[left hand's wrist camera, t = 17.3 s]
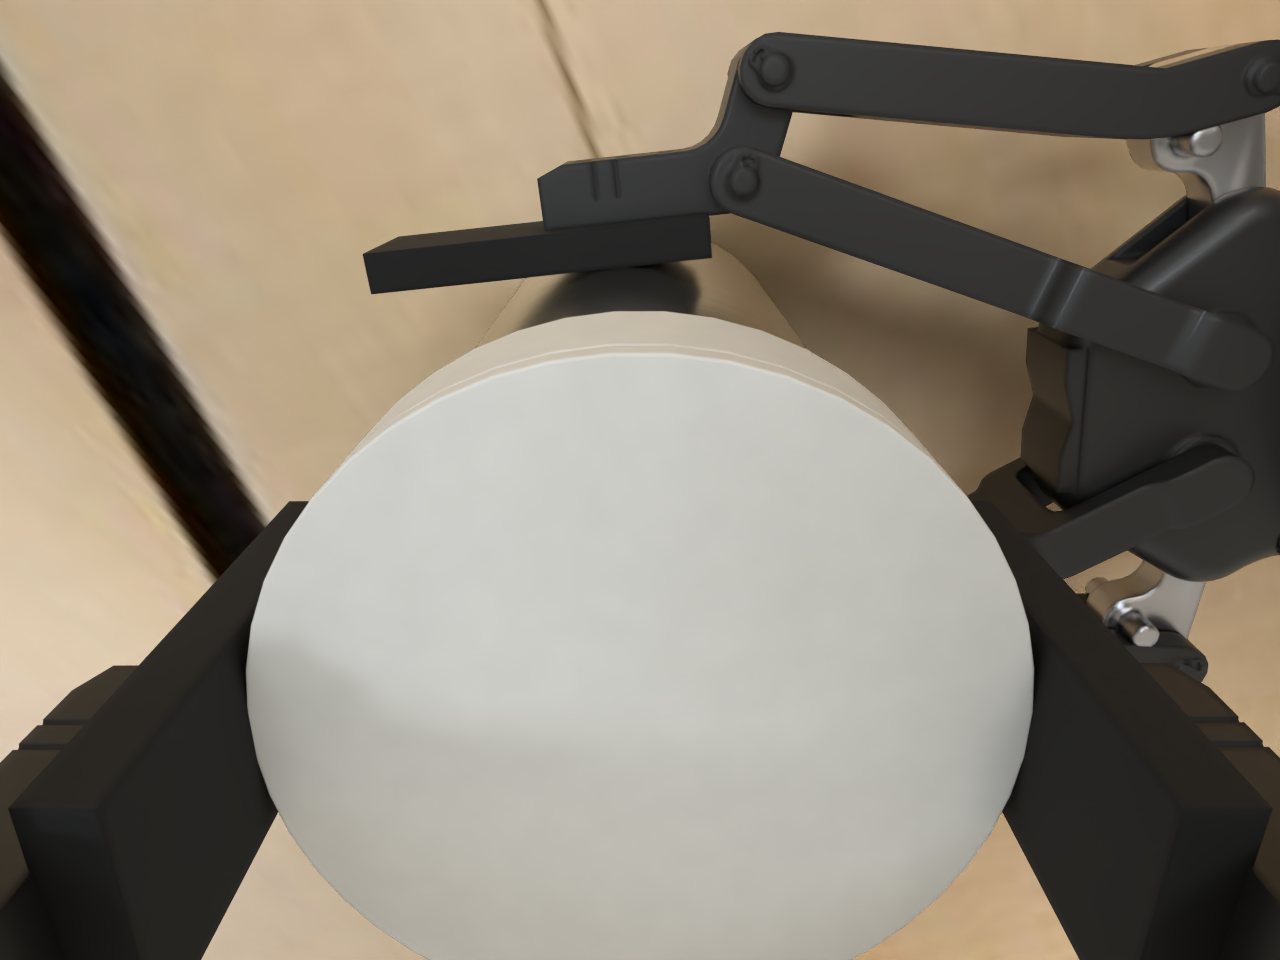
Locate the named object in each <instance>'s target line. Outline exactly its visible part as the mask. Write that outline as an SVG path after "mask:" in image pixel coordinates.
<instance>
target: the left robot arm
mask: <svg viewBox="0 0 1280 960" xmlns="http://www.w3.org/2000/svg"><path fill="white" fill-rule="evenodd" d="M308 502H309V501H289V502H288V503H287V505H286V506H285V507H284V508H283V509H282V510H281V511H280V512H279V513H278V514H277V515H276V517H275V518H274V519H273V520H272V521H271V522H270V523H269V524H268V525H267V526H266V527H265V529H264V530H263V531H262V532H261V533H260V534H259V535H258V536H257V537H256V538H255V539H254V541H253V542H252V543H251V544H250V545H249V546H248V547H247V548H246V549H245V550H244V551H243V552H242V554H241V555H240V556H239V557H238V558H237V559H236V560H235V561H234V562H233V563H232V564H231V566H230V567H229V568H228V569H227V570H226V571H225V572H224V573H223V574H222V575H221V576H220V578H219V579H218V580H217V581H216V582H215V583H214V584H213V585H212V586H211V587H210V588H209V590H208V591H207V592H206V593H205V594H204V595H203V596H202V597H201V598H200V599H199V600H198V602H197V603H196V604H195V605H194V606H193V607H192V608H191V609H190V610H189V611H188V612H187V614H186V615H185V616H184V617H183V618H182V619H181V620H180V621H179V622H178V623H177V624H176V626H175V627H174V628H173V629H172V630H171V631H170V632H169V633H168V634H167V635H166V636H165V638H164V639H163V640H162V641H161V642H160V643H159V644H158V645H157V646H156V647H155V648H154V650H153V651H152V652H151V653H150V654H149V655H148V656H147V657H146V658H145V659H144V660H143V661H142V663H141V664H140V665H139V666H112V667H111V668H109V669H107V670H106V671H104V672H102V673H101V674H99V675H97V676H96V677H94V678H92V679H91V680H89V681H87V682H86V683H84V684H82V685H81V686H79V687H77V688H76V689H74V690H72V691H71V692H70V693H69V694H68V695H67V696H66V697H65V698H64V699H63V700H62V701H61V702H60V703H59V704H58V705H57V706H56V707H55V708H54V709H53V710H52V711H51V712H50V713H49V714H48V715H47V716H46V717H45V718H44V719H43V725H37V726H36V727H35V728H34V729H33V730H32V731H31V732H30V733H29V734H28V735H27V736H26V737H25V738H24V739H23V740H22V741H21V742H20V743H19V749H18V750H13V751H12V752H11V753H10V754H9V755H8V756H7V757H6V758H5V759H4V760H3V761H2V762H1V763H0V960H201V959H202V957H203V955H204V953H205V951H206V949H207V947H208V945H209V943H210V941H211V940H212V938H213V936H214V934H215V932H216V930H217V928H218V926H219V924H220V922H221V920H222V918H223V917H224V915H225V913H226V911H227V909H228V907H229V905H230V903H231V901H232V899H233V897H234V896H235V894H236V892H237V890H238V888H239V886H240V884H241V882H242V880H243V878H244V876H245V874H246V873H247V871H248V869H249V867H250V865H251V863H252V861H253V859H254V857H255V855H256V853H257V851H258V850H259V848H260V846H261V844H262V842H263V840H264V838H265V836H266V834H267V832H268V830H269V828H270V827H271V825H272V823H273V821H274V819H275V817H276V815H277V813H278V810H277V808H276V806H275V804H274V803H273V801H272V799H271V797H270V795H269V792H268V789H267V786H266V783H265V781H264V778H263V775H262V772H261V769H260V767H259V764H258V760H257V756H256V751H255V746H254V741H253V735H252V730H251V725H250V720H249V715H248V709H247V689H246V663H247V655H248V647H249V638H250V630H251V624H252V620H253V617H254V613H255V610H256V606H257V603H258V600H259V596H260V593H261V589H262V586H263V582H264V580H265V578H266V575H267V573H268V571H269V569H270V567H271V565H272V563H273V561H274V559H275V556H276V554H277V552H278V550H279V548H280V546H281V544H282V542H283V540H284V538H285V536H286V535H287V533H288V532H289V530H290V529H291V527H292V526H293V524H294V523H295V521H296V520H297V519H298V517H299V516H300V514H301V513H302V511H303V510H304V508H305V507H306V505H307V504H308ZM971 503H972V504H973V506H974V507H975V509H976V510H977V511H978V513H979V514H980V516H981V517H982V519H983V520H984V522H985V523H986V525H987V526H988V527H989V529H990V530H991V532H992V533H993V535H994V536H995V538H996V540H997V542H998V544H999V546H1000V548H1001V550H1002V552H1003V555H1004V557H1005V559H1006V561H1007V563H1008V565H1009V567H1010V569H1011V571H1012V573H1013V575H1014V578H1015V580H1016V583H1017V586H1018V590H1019V593H1020V596H1021V600H1022V603H1023V607H1024V610H1025V613H1026V617H1027V620H1028V624H1029V631H1030V639H1031V647H1032V655H1033V662H1034V690H1033V713H1032V718H1031V723H1030V729H1029V734H1028V739H1027V744H1026V749H1025V754H1024V758H1023V761H1022V764H1021V767H1020V770H1019V773H1018V775H1017V778H1016V781H1015V784H1014V787H1013V790H1012V792H1011V795H1010V797H1009V799H1008V801H1007V803H1006V805H1005V807H1004V809H1003V810H1002V812H1003V814H1004V816H1005V818H1006V820H1007V822H1008V824H1009V826H1010V827H1011V829H1012V831H1013V833H1014V835H1015V837H1016V839H1017V841H1018V843H1019V845H1020V847H1021V848H1022V850H1023V852H1024V854H1025V856H1026V858H1027V860H1028V862H1029V864H1030V866H1031V868H1032V870H1033V871H1034V873H1035V875H1036V877H1037V879H1038V881H1039V883H1040V885H1041V887H1042V889H1043V891H1044V893H1045V894H1046V896H1047V898H1048V900H1049V902H1050V904H1051V906H1052V908H1053V910H1054V912H1055V914H1056V915H1057V917H1058V919H1059V921H1060V923H1061V925H1062V927H1063V929H1064V931H1065V933H1066V935H1067V937H1068V938H1069V940H1070V942H1071V944H1072V946H1073V948H1074V950H1075V952H1076V954H1077V956H1078V958H1079V960H1280V758H1279V757H1278V756H1277V755H1276V754H1275V753H1274V752H1273V751H1272V750H1271V749H1270V748H1269V747H1264V746H1263V744H1262V742H1263V741H1262V740H1261V739H1260V738H1259V737H1258V736H1257V735H1256V734H1255V733H1254V732H1253V731H1252V730H1251V729H1250V728H1249V727H1248V726H1247V725H1246V724H1245V723H1244V722H1239V720H1238V716H1237V715H1236V714H1235V713H1234V712H1233V711H1232V710H1231V709H1230V708H1229V707H1228V706H1227V705H1226V704H1225V703H1224V702H1223V701H1222V700H1221V699H1220V698H1219V697H1218V696H1217V695H1216V694H1215V693H1214V692H1213V691H1212V690H1211V689H1210V688H1209V687H1207V686H1206V685H1204V684H1202V683H1201V682H1199V681H1197V680H1196V679H1194V678H1192V677H1191V676H1189V675H1187V674H1186V673H1184V672H1182V671H1181V670H1179V669H1177V668H1175V667H1174V666H1172V665H1170V664H1169V663H1139V662H1138V661H1137V660H1136V659H1135V658H1134V656H1133V655H1132V654H1131V653H1130V652H1129V651H1128V650H1127V649H1126V648H1125V647H1124V646H1123V644H1122V643H1121V642H1120V641H1119V640H1118V639H1117V638H1116V637H1115V636H1114V635H1113V634H1112V632H1111V631H1110V630H1109V629H1108V628H1107V627H1106V626H1105V625H1104V624H1103V623H1102V622H1101V620H1100V619H1099V618H1098V617H1097V616H1096V615H1095V614H1094V613H1093V612H1092V611H1091V610H1090V609H1089V607H1088V606H1087V605H1086V604H1085V603H1084V602H1083V601H1082V600H1081V599H1080V598H1079V597H1078V595H1077V594H1076V593H1075V592H1074V591H1073V590H1072V589H1071V588H1070V587H1069V586H1068V585H1067V583H1066V582H1065V581H1064V580H1063V579H1062V578H1061V577H1060V576H1059V575H1058V574H1057V573H1056V571H1055V570H1054V569H1053V568H1052V567H1051V566H1050V565H1049V564H1048V563H1047V562H1046V561H1045V559H1044V558H1043V557H1042V556H1041V555H1040V554H1039V553H1038V552H1037V551H1036V550H1035V549H1034V547H1033V546H1032V545H1031V544H1030V543H1029V542H1028V541H1027V540H1026V539H1025V538H1024V537H1023V535H1022V534H1021V533H1020V532H1019V531H1018V530H1017V529H1016V528H1015V527H1014V526H1013V525H1012V524H1011V522H1010V521H1009V520H1008V519H1007V518H1006V517H1005V516H1004V515H1003V514H1002V513H1001V512H1000V510H999V509H998V508H997V507H996V506H995V505H994V504H993V503H992V502H991V501H971Z"/></svg>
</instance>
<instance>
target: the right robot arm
mask: <svg viewBox="0 0 1280 960" xmlns="http://www.w3.org/2000/svg"><path fill="white" fill-rule="evenodd" d="M1279 106H1280V40H1268V41H1259V42H1251V43H1243V44H1235V45H1227V46H1219V47H1211V48H1204V49H1196V50H1188V51H1184V52H1180V53H1177V54H1173V55H1170V56H1166V57H1162V58H1159V59H1155V60H1152V61H1148V62H1145V63H1141V64H1138V65H1124V64H1114V63H1103V62H1092V61H1082V60H1071V59H1060V58H1050V57H1039V56H1028V55H1018V54H1007V53H996V52H986V51H975V50H964V49H953V48H943V47H932V46H921V45H911V44H900V43H889V42H879V41H868V40H857V39H847V38H836V37H825V36H815V35H804V34H793V33H783V32H776V33H768V34H764V35H762V36H761V37H759V38H757V39H755V40H754V41H752V42H751V43H749V44H748V45H747V46H745V47H744V48H742V49H741V50H740V51H739V52H738V53H737V54H736V56H735V57H734V58H733V59H732V61H731V64H730V67H729V71H728V80H727V84H726V88H725V92H724V95H723V99H722V103H721V107H720V111H719V114H718V118H717V120H716V123H715V125H714V127H713V129H712V130H711V132H710V133H709V135H708V136H707V137H706V138H704V139H703V140H702V141H701V142H700V143H698V144H696V145H694V146H692V147H688V148H684V149H677V150H668V151H659V152H650V153H641V154H632V155H623V156H614V157H605V158H596V159H587V160H578V161H569V162H566V163H564V164H563V165H561V166H559V167H557V168H556V169H554V170H552V171H550V172H549V173H547V174H545V175H543V176H542V177H540V178H538V179H537V180H538V187H539V194H540V202H541V209H542V216H543V221H539V222H530V223H521V224H512V225H503V226H493V227H484V228H475V229H466V230H456V231H447V232H438V233H429V234H419V235H410V236H401V237H397V238H395V239H393V240H391V241H389V242H387V243H385V244H383V245H381V246H378V247H376V248H374V249H372V250H370V251H368V252H366V253H364V254H363V258H364V263H365V267H366V272H367V277H368V281H369V286H370V291H371V294H378V293H387V292H397V291H406V290H416V289H425V288H434V287H444V286H453V285H463V284H472V283H482V282H491V281H501V280H510V279H519V278H529V277H538V276H548V275H557V274H567V273H576V272H586V271H595V270H604V269H614V268H622V267H633V266H642V265H652V264H661V263H670V262H680V261H689V260H699V259H708V258H712V249H711V235H710V221H709V216H710V215H719V214H729V213H732V214H735V215H738V216H741V217H743V218H746V219H749V220H752V221H755V222H758V223H760V224H763V225H766V226H769V227H772V228H775V229H778V230H780V231H783V232H786V233H789V234H792V235H795V236H797V237H800V238H803V239H806V240H809V241H812V242H814V243H817V244H820V245H823V246H826V247H829V248H831V249H834V250H837V251H840V252H843V253H846V254H849V255H851V256H854V257H857V258H860V259H863V260H866V261H868V262H871V263H874V264H877V265H880V266H883V267H885V268H888V269H891V270H894V271H897V272H900V273H902V274H905V275H908V276H911V277H914V278H917V279H920V280H922V281H925V282H928V283H931V284H934V285H937V286H939V287H942V288H945V289H948V290H951V291H954V292H956V293H959V294H962V295H965V296H968V297H971V298H973V299H976V300H979V301H982V302H985V303H988V304H990V305H993V306H996V307H999V308H1002V309H1005V310H1008V311H1010V312H1013V313H1016V314H1019V315H1022V316H1024V317H1027V318H1030V319H1032V320H1035V321H1037V322H1040V324H1039V326H1038V327H1035V328H1028V334H1027V353H1026V364H1027V368H1028V373H1029V377H1030V381H1031V386H1032V390H1033V398H1032V401H1031V404H1030V407H1029V410H1028V413H1027V416H1026V419H1025V422H1024V425H1023V428H1022V443H1021V457H1020V458H1018V459H1017V460H1015V461H1013V462H1011V463H1009V464H1007V465H1005V466H1003V467H1001V468H999V469H997V470H995V471H993V472H991V473H990V474H988V475H986V476H985V477H984V478H983V479H982V480H981V483H980V485H979V488H978V489H977V490H976V491H975V492H973V493H972V494H970V495H968V496H967V497H968V498H969V500H970V501H991V502H992V503H993V504H994V505H995V506H996V507H997V508H998V509H999V510H1000V512H1001V513H1002V514H1003V515H1004V516H1005V517H1006V518H1007V519H1008V520H1009V521H1010V522H1011V524H1012V525H1013V526H1014V527H1015V528H1016V529H1017V530H1018V531H1019V532H1020V533H1021V534H1022V535H1023V537H1024V538H1025V539H1026V540H1027V541H1028V542H1029V543H1030V544H1031V545H1032V546H1033V547H1034V549H1035V550H1036V551H1037V552H1038V553H1039V554H1040V555H1041V556H1042V557H1043V558H1044V559H1045V561H1046V562H1047V563H1048V564H1049V565H1050V566H1051V567H1052V568H1053V569H1054V570H1055V571H1056V573H1057V574H1058V575H1059V576H1060V577H1061V578H1062V579H1065V578H1068V577H1071V576H1074V575H1076V574H1078V573H1080V572H1082V571H1084V570H1086V569H1088V568H1091V567H1093V566H1095V565H1097V564H1099V563H1101V562H1103V561H1105V560H1107V559H1110V558H1112V557H1114V556H1116V555H1118V554H1120V553H1122V552H1124V551H1126V550H1127V551H1129V552H1131V553H1133V554H1134V555H1136V556H1138V557H1139V558H1141V559H1143V561H1142V563H1141V565H1140V566H1139V567H1138V569H1137V570H1136V571H1134V572H1133V573H1132V574H1130V575H1129V576H1126V577H1124V578H1122V579H1116V580H1111V581H1108V580H1107V579H1105V578H1102V577H1097V578H1094V579H1092V580H1091V581H1090V582H1088V584H1087V586H1086V594H1077V595H1078V597H1079V598H1080V599H1081V600H1082V601H1083V602H1084V603H1085V604H1086V605H1087V606H1088V607H1089V609H1090V610H1091V611H1092V612H1093V613H1094V614H1095V615H1096V616H1097V617H1098V618H1099V619H1100V620H1101V622H1102V623H1103V624H1104V625H1105V626H1106V627H1107V628H1108V629H1109V630H1110V631H1111V632H1112V634H1113V635H1114V636H1115V637H1116V638H1117V639H1118V640H1119V641H1120V642H1121V643H1122V644H1123V646H1124V647H1125V648H1126V649H1127V650H1128V651H1129V652H1130V653H1131V654H1132V655H1133V656H1134V658H1135V659H1136V660H1137V661H1138V662H1139V663H1169V664H1170V665H1172V666H1174V667H1175V668H1177V669H1179V670H1181V671H1182V672H1184V673H1186V674H1187V675H1189V676H1191V677H1192V678H1194V679H1196V680H1197V681H1199V682H1202V681H1203V679H1204V677H1205V675H1206V674H1207V670H1208V662H1207V660H1206V657H1205V656H1204V655H1203V654H1202V653H1201V652H1200V651H1199V650H1198V649H1197V648H1196V647H1195V646H1194V645H1193V644H1192V643H1191V642H1190V641H1189V640H1188V635H1189V632H1190V629H1191V626H1192V623H1193V620H1194V617H1195V614H1196V610H1197V607H1198V604H1199V601H1200V598H1201V595H1202V592H1203V589H1204V586H1205V583H1206V581H1213V580H1216V579H1220V578H1223V577H1225V576H1228V575H1230V574H1232V573H1233V572H1235V571H1237V570H1239V569H1241V568H1242V567H1244V566H1246V565H1249V564H1251V563H1253V562H1256V561H1258V560H1261V559H1264V558H1267V557H1270V556H1275V555H1280V191H1278V190H1275V189H1272V188H1267V187H1266V174H1265V113H1266V112H1268V111H1270V110H1272V109H1275V108H1277V107H1279ZM792 112H798V113H809V114H820V115H831V116H842V117H853V118H864V119H875V120H886V121H897V122H907V123H918V124H929V125H940V126H951V127H962V128H973V129H984V130H995V131H1006V132H1017V133H1028V134H1039V135H1050V136H1061V137H1086V138H1111V139H1126V142H1127V146H1128V148H1129V152H1130V156H1131V157H1132V159H1133V161H1134V162H1135V163H1136V164H1137V165H1138V166H1140V167H1141V168H1144V169H1147V170H1153V171H1163V172H1173V173H1175V174H1176V175H1177V176H1179V177H1180V178H1181V179H1182V181H1183V183H1184V185H1185V187H1186V192H1187V195H1186V196H1184V197H1182V198H1181V199H1180V200H1178V201H1177V202H1176V203H1175V204H1173V205H1172V206H1171V207H1169V208H1168V209H1167V210H1166V211H1164V212H1163V213H1162V214H1160V215H1159V216H1158V217H1157V218H1155V219H1154V220H1153V221H1152V222H1150V223H1149V224H1148V225H1146V226H1145V227H1144V228H1143V229H1141V230H1140V231H1139V232H1137V233H1136V234H1135V235H1134V236H1132V237H1131V238H1130V239H1128V240H1127V241H1126V242H1125V243H1123V244H1122V245H1121V246H1119V247H1118V248H1117V249H1116V250H1114V251H1113V252H1112V253H1111V254H1109V255H1108V256H1107V257H1105V258H1104V259H1103V260H1102V261H1100V262H1099V263H1098V264H1096V265H1095V266H1094V267H1093V268H1091V269H1088V268H1086V267H1083V266H1080V265H1077V264H1074V263H1071V262H1068V261H1066V260H1063V259H1060V258H1057V257H1054V256H1052V255H1049V254H1046V253H1043V252H1041V251H1038V250H1035V249H1032V248H1029V247H1027V246H1024V245H1021V244H1018V243H1016V242H1013V241H1010V240H1007V239H1005V238H1002V237H999V236H996V235H994V234H991V233H988V232H985V231H983V230H980V229H977V228H974V227H972V226H969V225H966V224H963V223H960V222H958V221H955V220H952V219H949V218H947V217H944V216H941V215H938V214H936V213H933V212H930V211H927V210H925V209H922V208H919V207H916V206H914V205H911V204H908V203H905V202H903V201H900V200H897V199H894V198H892V197H889V196H886V195H883V194H880V193H878V192H875V191H872V190H869V189H867V188H864V187H861V186H858V185H856V184H853V183H850V182H847V181H845V180H842V179H839V178H836V177H834V176H831V175H828V174H825V173H823V172H820V171H817V170H814V169H811V168H809V167H806V166H803V165H800V164H798V163H795V162H792V161H789V160H787V159H784V158H781V157H780V154H781V150H782V147H783V143H784V140H785V136H786V133H787V130H788V126H789V123H790V119H791V116H792ZM1053 502H1054V503H1055V504H1056V505H1057V506H1058V507H1059V508H1060V509H1062V510H1063V511H1051V510H1049V509H1047V508H1046V507H1045V506H1047V505H1049V504H1051V503H1053Z"/></svg>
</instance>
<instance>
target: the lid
mask: <svg viewBox="0 0 1280 960" xmlns="http://www.w3.org/2000/svg"><path fill="white" fill-rule="evenodd" d="M246 689H247V709H248V715H249V720H250V725H251V730H252V735H253V741H254V746H255V751H256V756H257V760H258V764H259V767H260V769H261V772H262V775H263V778H264V781H265V783H266V786H267V789H268V792H269V795H270V797H271V799H272V801H273V803H274V804H275V806H276V808H277V810H278V812H279V814H280V816H281V818H282V820H283V822H284V823H285V825H286V827H287V829H288V831H289V833H290V834H291V836H292V837H293V839H294V840H295V841H296V843H297V844H298V846H299V847H300V848H301V850H302V851H303V853H304V854H305V855H306V857H307V858H308V860H309V861H310V862H311V864H312V865H313V867H314V868H315V869H316V870H317V871H318V872H319V873H320V874H321V875H322V876H323V878H324V879H325V880H326V881H327V882H328V883H329V884H330V885H331V886H332V887H333V888H334V889H335V890H336V892H337V893H338V894H339V895H340V896H341V897H342V898H343V899H344V900H345V901H346V902H348V903H349V904H350V905H351V906H352V907H354V908H355V909H356V910H357V911H358V912H359V913H361V914H362V915H363V916H364V917H365V918H367V919H368V920H369V921H370V922H371V923H372V924H374V925H375V926H376V927H378V928H379V929H381V930H382V931H383V932H385V933H386V934H388V935H389V936H391V937H392V938H394V939H395V940H397V941H398V942H400V943H401V944H403V945H404V946H406V947H407V948H409V949H410V950H412V951H414V952H416V953H418V954H420V955H422V956H423V957H425V958H427V959H429V960H851V959H853V958H855V957H857V956H859V955H861V954H863V953H864V952H866V951H868V950H870V949H871V948H873V947H874V946H876V945H877V944H879V943H880V942H882V941H883V940H885V939H886V938H888V937H889V936H891V935H892V934H894V933H895V932H897V931H898V930H900V929H901V928H903V927H904V926H906V925H907V924H908V923H909V922H910V921H911V920H913V919H914V918H915V917H916V916H917V915H918V914H920V913H921V912H922V911H923V910H924V909H926V908H927V907H928V906H929V905H930V904H931V903H933V902H934V901H935V900H936V899H937V898H938V897H939V896H940V895H941V894H942V893H943V892H944V891H945V890H946V889H947V887H948V886H949V885H950V884H951V883H952V882H953V881H954V880H955V879H956V878H957V877H958V876H959V874H960V873H961V872H962V871H963V870H964V869H965V868H966V867H967V865H968V864H969V863H970V861H971V860H972V858H973V857H974V856H975V854H976V853H977V851H978V850H979V849H980V847H981V846H982V844H983V843H984V842H985V840H986V839H987V837H988V836H989V835H990V833H991V831H992V829H993V828H994V826H995V824H996V822H997V820H998V818H999V816H1000V814H1001V812H1002V810H1003V809H1004V807H1005V805H1006V803H1007V801H1008V799H1009V797H1010V795H1011V792H1012V790H1013V787H1014V784H1015V781H1016V778H1017V775H1018V773H1019V770H1020V767H1021V764H1022V761H1023V758H1024V754H1025V749H1026V744H1027V739H1028V734H1029V729H1030V723H1031V718H1032V713H1033V690H1034V662H1033V655H1032V647H1031V639H1030V631H1029V624H1028V620H1027V617H1026V613H1025V610H1024V607H1023V603H1022V600H1021V596H1020V593H1019V590H1018V586H1017V583H1016V580H1015V578H1014V575H1013V573H1012V571H1011V569H1010V567H1009V565H1008V563H1007V561H1006V559H1005V557H1004V555H1003V552H1002V550H1001V548H1000V546H999V544H998V542H997V540H996V538H995V536H994V535H993V533H992V532H991V530H990V529H989V527H988V526H987V525H986V523H985V522H984V520H983V519H982V517H981V516H980V514H979V513H978V511H977V510H976V509H975V507H974V506H973V504H972V503H971V501H970V500H969V498H968V497H967V496H966V495H965V493H964V492H963V491H962V490H961V489H960V488H959V486H958V485H957V484H956V483H955V482H954V481H953V480H952V478H951V477H950V476H949V475H948V474H947V473H946V471H945V470H944V469H943V468H942V467H941V466H940V465H939V463H938V462H937V461H936V460H935V459H934V458H933V456H932V455H931V454H930V453H929V452H928V451H927V450H926V448H925V447H924V446H923V445H922V444H921V443H920V441H919V440H918V439H917V438H916V437H915V436H914V435H913V433H912V432H911V431H910V430H909V429H908V428H907V427H906V426H905V425H904V424H903V423H902V422H901V421H900V420H899V418H898V417H897V416H896V415H895V414H894V413H893V412H892V411H891V410H890V409H889V408H888V407H887V406H886V405H885V404H884V403H883V401H881V400H880V399H879V398H878V397H876V396H875V395H874V394H873V393H871V392H870V391H869V390H867V389H866V388H865V387H864V386H862V385H861V384H860V383H859V382H857V381H856V380H855V379H854V378H852V377H851V376H850V375H849V374H847V373H846V372H844V371H843V370H841V369H839V368H837V367H836V366H834V365H832V364H831V363H829V362H827V361H826V360H824V359H822V358H820V357H819V356H817V355H815V354H814V353H812V352H810V351H809V350H807V349H805V348H802V347H800V346H798V345H795V344H793V343H790V342H788V341H786V340H783V339H781V338H778V337H776V336H774V335H771V334H769V333H766V332H764V331H762V330H758V329H754V328H750V327H747V326H743V325H739V324H736V323H732V322H728V321H724V320H721V319H717V318H712V317H705V316H697V315H689V314H682V313H674V312H666V311H613V312H606V313H598V314H591V315H583V316H576V317H568V318H563V319H559V320H556V321H552V322H548V323H544V324H541V325H537V326H533V327H530V328H526V329H522V330H519V331H516V332H513V333H511V334H509V335H506V336H504V337H502V338H499V339H497V340H494V341H492V342H490V343H487V344H485V345H482V346H480V347H478V348H475V349H473V350H471V351H470V352H468V353H466V354H465V355H463V356H461V357H460V358H458V359H456V360H454V361H453V362H451V363H449V364H448V365H446V366H444V367H443V368H441V369H439V370H438V371H436V372H434V373H433V374H431V375H430V376H429V377H428V378H426V379H425V380H424V381H423V382H421V383H420V384H419V385H418V386H416V387H415V388H414V389H413V390H411V391H410V392H409V393H408V394H406V395H405V396H404V397H403V398H401V399H400V400H399V401H398V402H396V404H395V405H394V406H393V407H392V408H391V409H390V410H389V411H388V412H387V413H386V414H385V415H384V416H383V417H382V419H381V420H380V421H379V422H378V423H377V424H376V425H375V426H374V427H373V428H372V429H371V430H370V431H369V432H368V434H367V435H366V436H365V437H364V438H363V439H362V440H361V442H360V443H359V444H358V445H357V446H356V447H355V448H354V450H353V451H352V452H351V453H350V454H349V455H348V456H347V458H346V459H345V460H344V461H343V462H342V463H341V464H340V466H339V467H338V468H337V469H336V470H335V471H334V473H333V474H332V475H331V476H330V477H329V478H328V479H327V481H326V482H325V483H324V484H323V485H322V486H321V487H320V489H319V490H318V491H317V492H316V493H315V494H314V496H313V497H312V498H311V500H310V501H309V502H308V504H307V505H306V507H305V508H304V510H303V511H302V513H301V514H300V516H299V517H298V519H297V520H296V521H295V523H294V524H293V526H292V527H291V529H290V530H289V532H288V533H287V535H286V536H285V538H284V540H283V542H282V544H281V546H280V548H279V550H278V552H277V554H276V556H275V559H274V561H273V563H272V565H271V567H270V569H269V571H268V573H267V575H266V578H265V580H264V582H263V586H262V589H261V593H260V596H259V600H258V603H257V606H256V610H255V613H254V617H253V620H252V624H251V630H250V638H249V647H248V655H247V663H246Z"/></svg>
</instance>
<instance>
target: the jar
mask: <svg viewBox="0 0 1280 960" xmlns="http://www.w3.org/2000/svg"><path fill="white" fill-rule="evenodd" d="M711 249H712V258H708V259H699V260H689V261H680V262H670V263H661V264H652V265H642V266H633V267H622V268H614V269H604V270H595V271H586V272H576V273H567V274H557V275H548V276H538V277H529V278H526V279H525V280H524V281H523V283H522V284H521V286H520V287H519V288H518V290H517V291H516V293H515V294H514V295H513V297H512V298H511V299H510V301H509V302H508V304H507V305H506V306H505V308H504V309H503V311H502V312H501V313H500V315H499V316H498V317H497V319H496V320H495V322H494V323H493V324H492V326H491V327H490V328H489V330H488V331H487V333H486V334H485V335H484V337H483V338H482V340H481V341H480V342H479V344H478V345H477V346H476V348H478V347H480V346H482V345H485V344H487V343H490V342H492V341H494V340H497V339H499V338H502V337H504V336H506V335H509V334H511V333H513V332H516V331H519V330H522V329H526V328H530V327H533V326H537V325H541V324H544V323H548V322H552V321H556V320H559V319H563V318H568V317H576V316H583V315H591V314H598V313H606V312H613V311H666V312H674V313H682V314H689V315H697V316H705V317H712V318H717V319H721V320H724V321H728V322H732V323H736V324H739V325H743V326H747V327H750V328H754V329H758V330H762V331H764V332H766V333H769V334H771V335H774V336H776V337H778V338H781V339H783V340H786V341H788V342H790V343H793V344H795V345H798V346H800V347H802V348H805V349H807V348H806V347H805V345H804V344H803V342H802V341H801V340H800V338H799V337H798V336H797V334H796V333H795V331H794V330H793V329H792V327H791V326H790V325H789V323H788V322H787V320H786V319H785V318H784V316H783V315H782V314H781V312H780V311H779V309H778V308H777V307H776V305H775V304H774V303H773V301H772V300H771V298H770V297H769V296H768V294H767V293H766V292H765V290H764V289H763V288H762V286H761V285H760V283H759V282H758V281H757V279H756V278H755V277H754V275H753V274H752V273H751V272H750V271H749V270H748V269H747V268H746V267H745V266H744V265H743V264H742V263H741V262H740V261H739V260H737V259H736V258H735V257H734V256H732V255H731V254H730V253H728V252H727V251H726V250H725V249H723V248H721V247H720V246H718V245H716V244H714V243H713V242H711ZM807 350H808V349H807Z"/></svg>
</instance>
